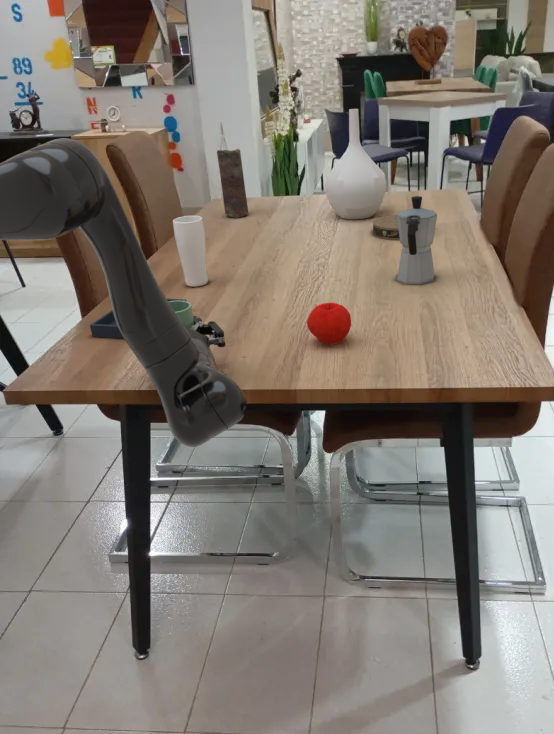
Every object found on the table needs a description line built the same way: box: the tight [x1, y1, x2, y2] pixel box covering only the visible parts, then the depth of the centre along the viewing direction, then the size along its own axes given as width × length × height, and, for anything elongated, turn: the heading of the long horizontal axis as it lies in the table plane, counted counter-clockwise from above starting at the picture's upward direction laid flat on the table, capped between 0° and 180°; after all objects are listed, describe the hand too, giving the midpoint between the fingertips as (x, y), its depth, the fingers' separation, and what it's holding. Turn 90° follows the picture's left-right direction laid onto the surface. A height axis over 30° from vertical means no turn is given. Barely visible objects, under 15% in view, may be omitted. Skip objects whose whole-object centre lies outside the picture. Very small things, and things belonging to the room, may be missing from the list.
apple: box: [306, 302, 352, 345], centre depth 125 cm, size 8×8×7 cm
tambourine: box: [372, 214, 400, 241], centre depth 191 cm, size 16×16×3 cm
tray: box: [89, 298, 188, 340], centre depth 141 cm, size 16×13×2 cm
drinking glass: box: [172, 215, 209, 288], centre depth 158 cm, size 7×7×15 cm
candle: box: [216, 148, 249, 219], centre depth 215 cm, size 8×7×20 cm
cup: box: [168, 300, 195, 329], centre depth 116 cm, size 6×6×10 cm
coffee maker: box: [395, 195, 438, 286], centre depth 151 cm, size 15×9×18 cm, turn 165°
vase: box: [324, 108, 387, 221], centre depth 204 cm, size 18×18×30 cm
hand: (174, 324), depth 118 cm, fingers closed on cup, 6 cm apart
